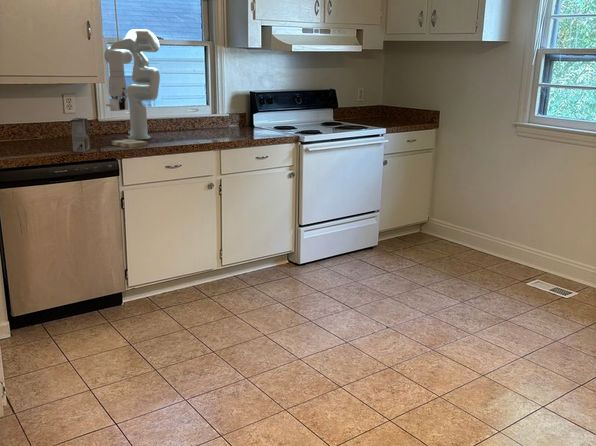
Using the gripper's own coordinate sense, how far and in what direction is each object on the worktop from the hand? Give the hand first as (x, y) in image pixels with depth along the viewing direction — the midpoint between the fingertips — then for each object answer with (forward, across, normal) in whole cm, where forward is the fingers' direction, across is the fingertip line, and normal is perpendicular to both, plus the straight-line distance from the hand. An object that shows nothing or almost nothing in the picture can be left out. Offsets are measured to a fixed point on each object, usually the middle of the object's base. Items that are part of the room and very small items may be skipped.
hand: (119, 108), depth 323 cm
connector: (+1, 0, 0) cm, 1 cm away
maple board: (+20, 0, +5) cm, 21 cm away
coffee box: (+20, -2, -24) cm, 31 cm away
